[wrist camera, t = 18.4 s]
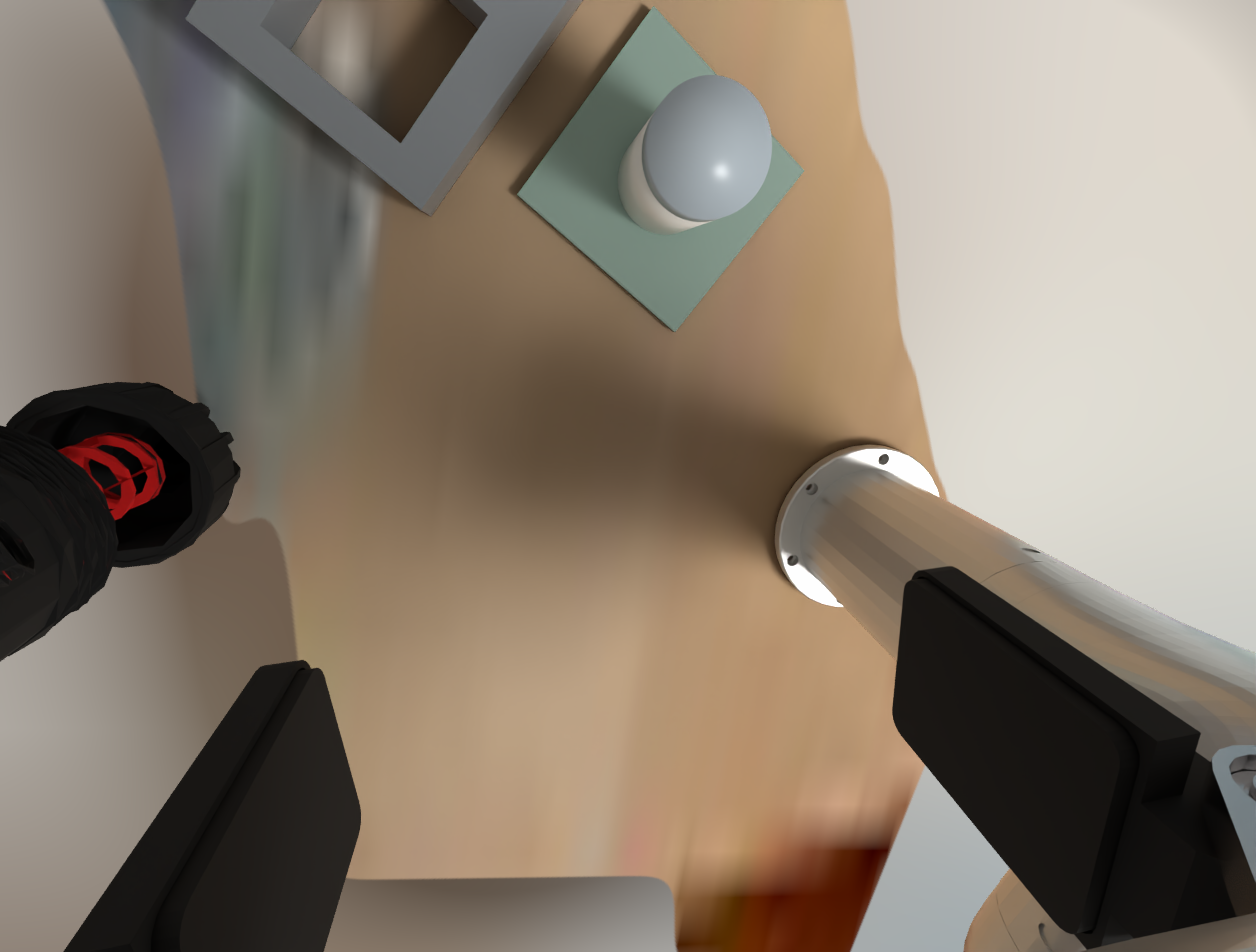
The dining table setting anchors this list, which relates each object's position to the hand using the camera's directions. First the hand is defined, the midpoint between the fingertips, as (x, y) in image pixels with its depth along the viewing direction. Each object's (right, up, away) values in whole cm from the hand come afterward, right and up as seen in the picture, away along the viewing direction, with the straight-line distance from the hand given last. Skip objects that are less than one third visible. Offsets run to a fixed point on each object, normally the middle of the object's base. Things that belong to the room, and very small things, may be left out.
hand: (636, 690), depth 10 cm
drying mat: (+2, +21, +26) cm, 33 cm away
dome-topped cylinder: (+2, +20, +25) cm, 32 cm away
